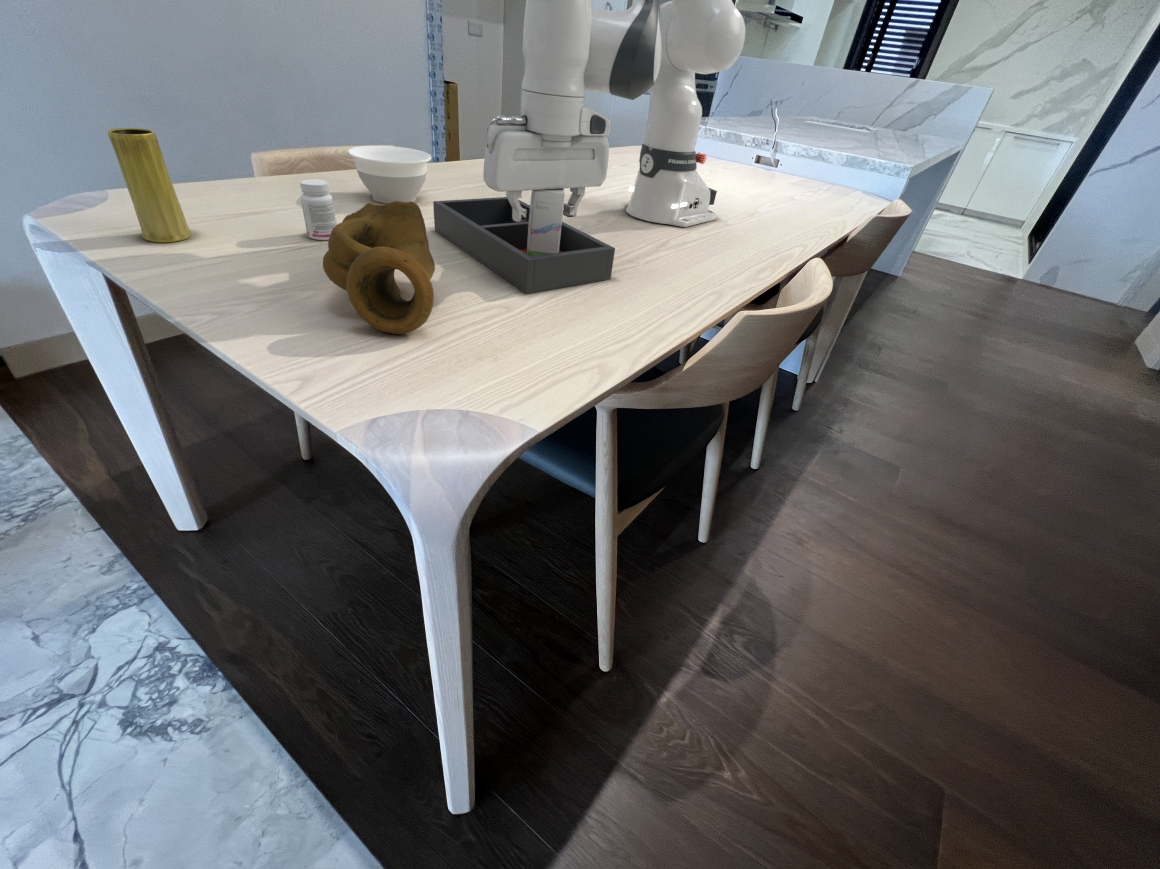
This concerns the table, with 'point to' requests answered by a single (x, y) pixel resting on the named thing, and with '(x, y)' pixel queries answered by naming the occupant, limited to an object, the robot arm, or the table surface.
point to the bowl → (391, 171)
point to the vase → (149, 184)
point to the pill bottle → (317, 208)
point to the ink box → (545, 221)
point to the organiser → (521, 245)
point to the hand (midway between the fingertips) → (545, 218)
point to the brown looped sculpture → (383, 264)
